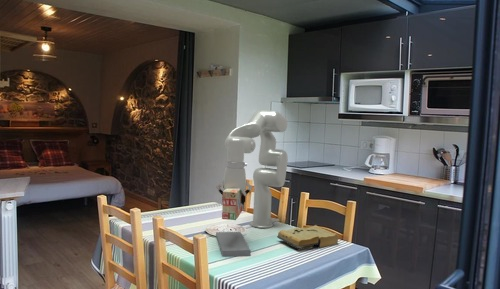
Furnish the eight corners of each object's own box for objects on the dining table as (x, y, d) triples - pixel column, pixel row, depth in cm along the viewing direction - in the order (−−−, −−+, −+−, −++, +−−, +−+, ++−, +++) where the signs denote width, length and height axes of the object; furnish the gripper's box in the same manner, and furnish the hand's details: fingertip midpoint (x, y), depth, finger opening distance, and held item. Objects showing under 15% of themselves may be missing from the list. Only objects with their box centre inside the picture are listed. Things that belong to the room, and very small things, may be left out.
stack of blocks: (231, 207, 185) (232, 182, 184) (244, 208, 184) (245, 183, 183) (221, 219, 164) (222, 190, 163) (236, 220, 163) (237, 191, 162)
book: (315, 235, 196) (316, 223, 196) (338, 245, 182) (339, 232, 182) (276, 242, 183) (276, 229, 183) (297, 253, 169) (298, 240, 169)
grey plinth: (240, 236, 188) (240, 231, 188) (250, 255, 162) (250, 250, 162) (216, 237, 186) (216, 232, 185) (222, 256, 160) (222, 250, 160)
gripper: (252, 164, 177) (251, 202, 178) (215, 164, 173) (213, 202, 175) (255, 166, 169) (254, 205, 171) (216, 166, 166) (215, 206, 167)
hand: (233, 203), depth 173 cm, fingers closed on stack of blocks, 7 cm apart
